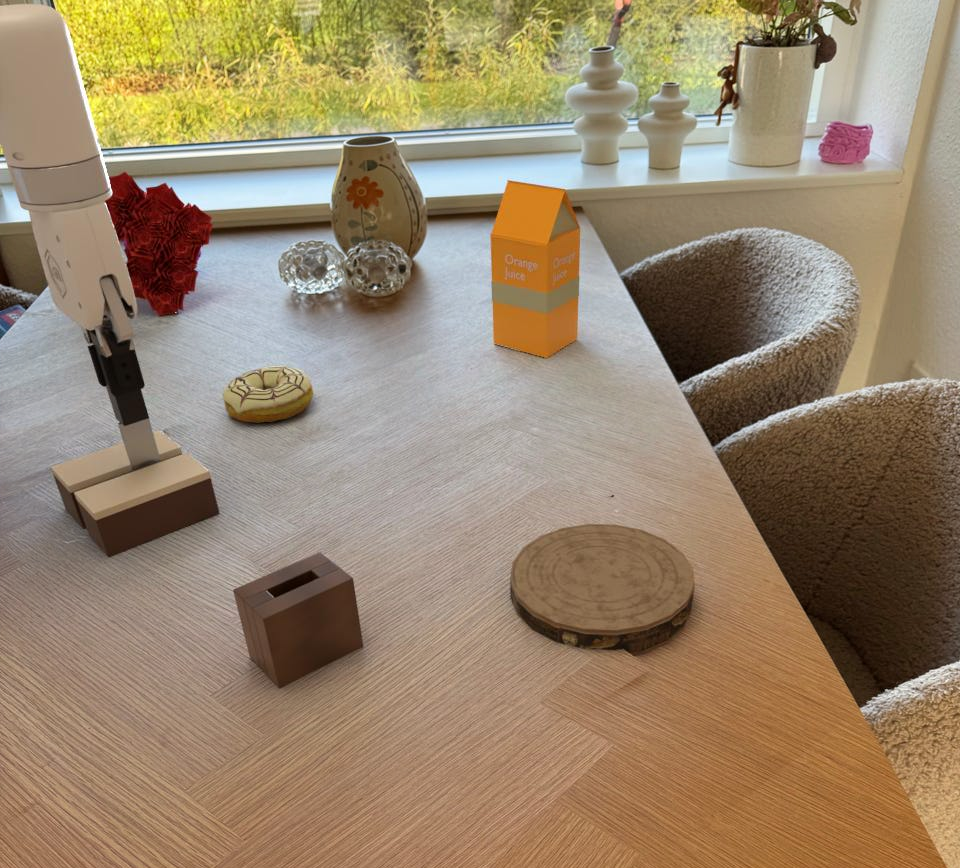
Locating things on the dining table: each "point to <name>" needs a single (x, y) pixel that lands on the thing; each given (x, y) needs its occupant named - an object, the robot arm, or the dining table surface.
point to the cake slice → (147, 503)
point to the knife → (131, 420)
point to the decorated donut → (268, 394)
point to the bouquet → (158, 241)
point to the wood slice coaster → (603, 588)
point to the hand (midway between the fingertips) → (122, 385)
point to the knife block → (299, 618)
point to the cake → (101, 470)
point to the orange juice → (535, 269)
